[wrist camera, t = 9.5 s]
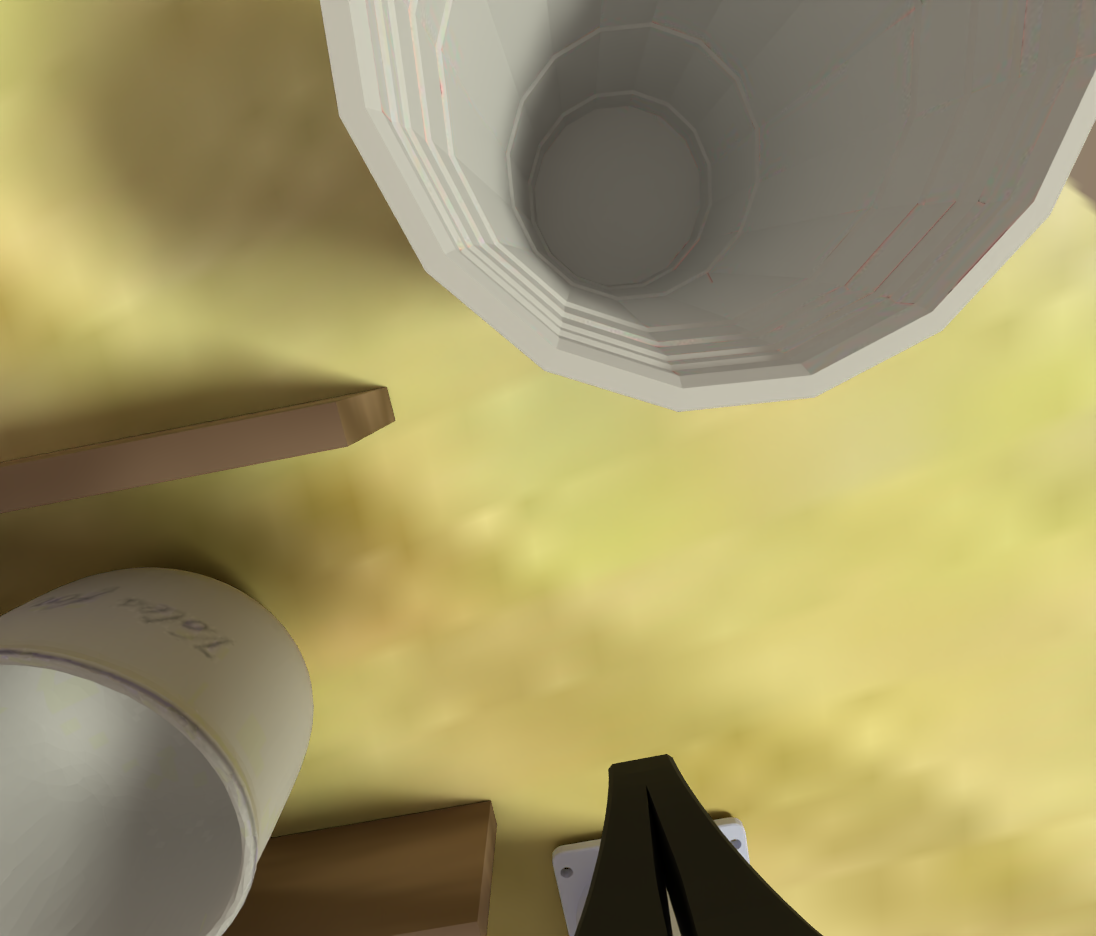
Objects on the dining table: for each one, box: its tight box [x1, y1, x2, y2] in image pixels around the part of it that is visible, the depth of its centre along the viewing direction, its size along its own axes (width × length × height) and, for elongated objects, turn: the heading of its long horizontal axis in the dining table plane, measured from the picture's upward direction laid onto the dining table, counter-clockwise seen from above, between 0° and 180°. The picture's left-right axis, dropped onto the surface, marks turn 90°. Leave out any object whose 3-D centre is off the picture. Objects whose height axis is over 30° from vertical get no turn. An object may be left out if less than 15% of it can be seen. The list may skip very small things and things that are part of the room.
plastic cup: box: [320, 0, 1096, 412], centre depth 13 cm, size 11×11×12 cm
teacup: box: [0, 567, 314, 936], centre depth 18 cm, size 14×11×8 cm
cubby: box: [0, 387, 497, 936], centre depth 20 cm, size 18×19×5 cm
